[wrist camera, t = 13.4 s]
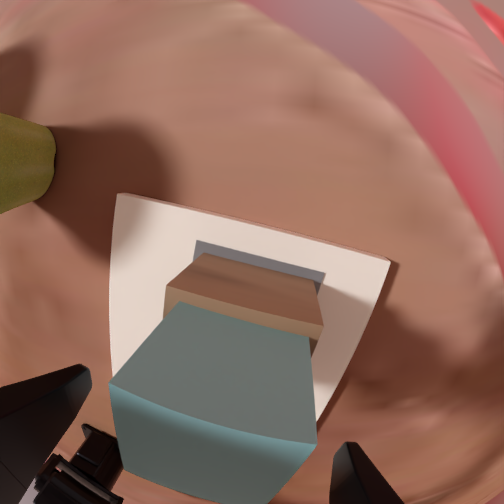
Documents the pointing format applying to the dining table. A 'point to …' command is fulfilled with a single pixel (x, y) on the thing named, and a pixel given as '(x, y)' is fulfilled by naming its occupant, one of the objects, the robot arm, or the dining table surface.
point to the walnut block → (249, 295)
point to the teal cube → (216, 407)
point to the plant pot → (24, 161)
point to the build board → (243, 250)
